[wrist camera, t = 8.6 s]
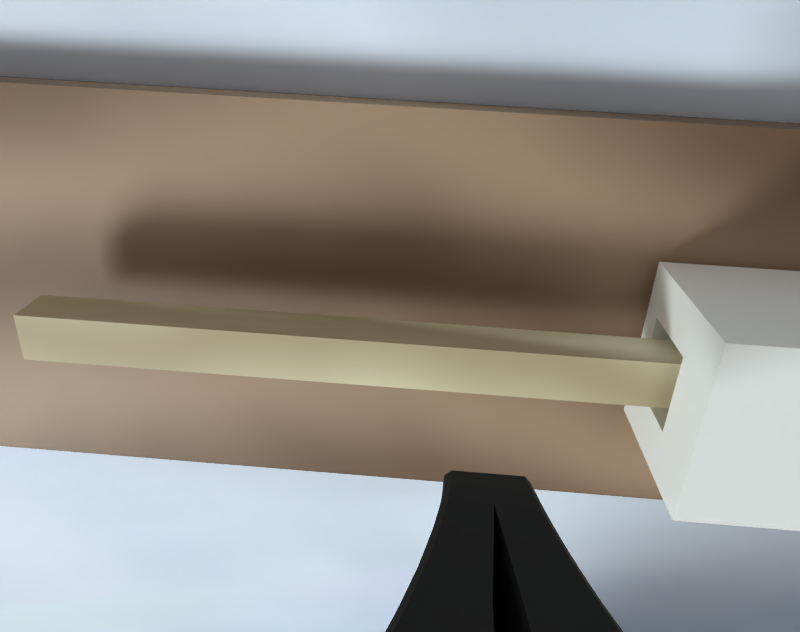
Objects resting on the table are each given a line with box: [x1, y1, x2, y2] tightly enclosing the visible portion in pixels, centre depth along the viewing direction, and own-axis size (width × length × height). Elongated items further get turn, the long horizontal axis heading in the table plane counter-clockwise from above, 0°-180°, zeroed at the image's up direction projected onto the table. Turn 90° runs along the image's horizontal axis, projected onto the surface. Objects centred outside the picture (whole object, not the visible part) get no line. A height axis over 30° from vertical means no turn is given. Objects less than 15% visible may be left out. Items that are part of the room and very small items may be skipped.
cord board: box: [0, 77, 800, 500], centre depth 16 cm, size 11×30×5 cm, turn 87°
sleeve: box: [624, 262, 800, 531], centre depth 15 cm, size 4×5×4 cm
